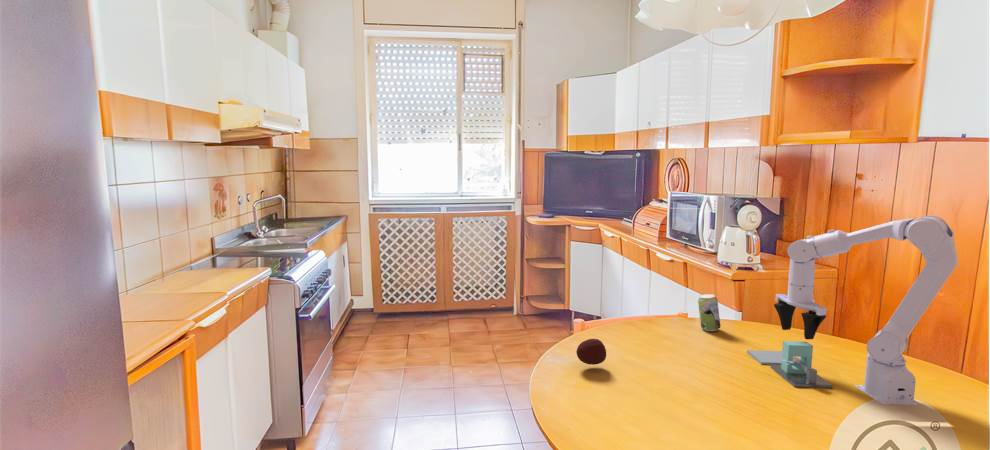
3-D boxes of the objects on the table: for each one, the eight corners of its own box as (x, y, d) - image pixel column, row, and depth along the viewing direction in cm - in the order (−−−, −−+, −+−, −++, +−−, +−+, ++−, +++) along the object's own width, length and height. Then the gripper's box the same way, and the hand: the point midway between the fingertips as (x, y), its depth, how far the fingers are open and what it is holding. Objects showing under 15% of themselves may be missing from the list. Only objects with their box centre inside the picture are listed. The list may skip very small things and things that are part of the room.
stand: (832, 388, 119) (833, 371, 119) (794, 386, 120) (795, 370, 120) (804, 368, 131) (805, 353, 131) (770, 367, 132) (771, 352, 131)
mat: (806, 365, 133) (806, 363, 133) (761, 364, 134) (761, 362, 134) (789, 353, 142) (789, 351, 142) (746, 352, 143) (746, 350, 143)
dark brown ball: (571, 360, 137) (572, 336, 136) (599, 357, 139) (599, 333, 138) (582, 370, 130) (583, 345, 129) (611, 367, 132) (611, 342, 131)
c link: (810, 373, 126) (813, 345, 125) (786, 373, 126) (788, 345, 125) (804, 369, 129) (806, 341, 128) (780, 368, 129) (782, 341, 128)
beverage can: (723, 333, 160) (725, 297, 158) (701, 332, 160) (702, 297, 159) (715, 326, 166) (717, 292, 165) (693, 326, 166) (695, 292, 165)
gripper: (837, 290, 122) (833, 342, 123) (791, 277, 136) (788, 324, 137) (814, 291, 120) (810, 344, 122) (770, 279, 135) (767, 326, 136)
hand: (797, 334), depth 130 cm, fingers open, 7 cm apart
